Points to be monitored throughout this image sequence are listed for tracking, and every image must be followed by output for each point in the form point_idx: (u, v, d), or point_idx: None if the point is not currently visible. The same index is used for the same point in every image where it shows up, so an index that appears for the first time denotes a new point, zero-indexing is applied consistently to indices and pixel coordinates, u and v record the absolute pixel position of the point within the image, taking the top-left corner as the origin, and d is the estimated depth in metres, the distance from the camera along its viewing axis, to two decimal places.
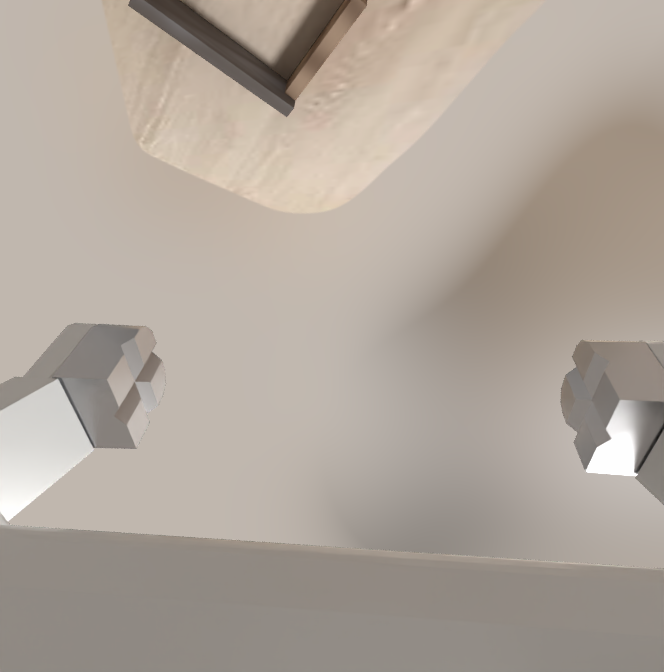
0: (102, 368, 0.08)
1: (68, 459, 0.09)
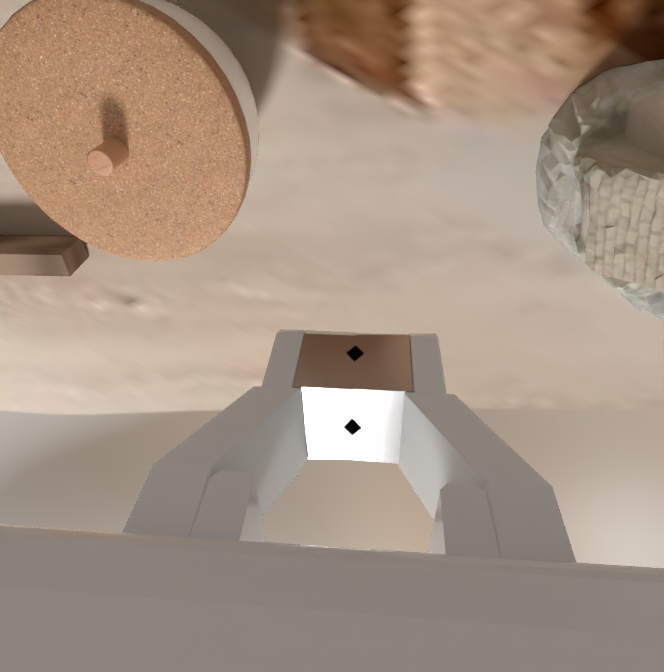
0: (341, 377, 0.08)
1: (291, 472, 0.08)
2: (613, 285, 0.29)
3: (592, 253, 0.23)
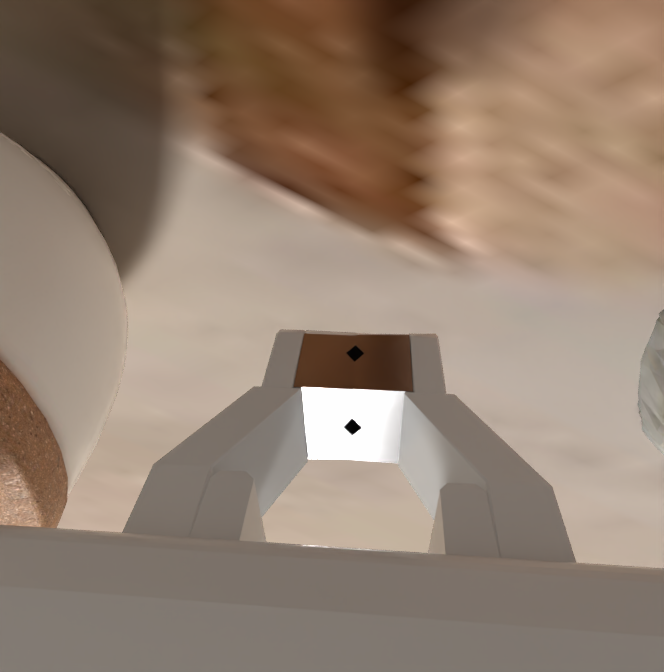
0: (341, 377, 0.08)
1: (291, 471, 0.08)
2: None
3: None
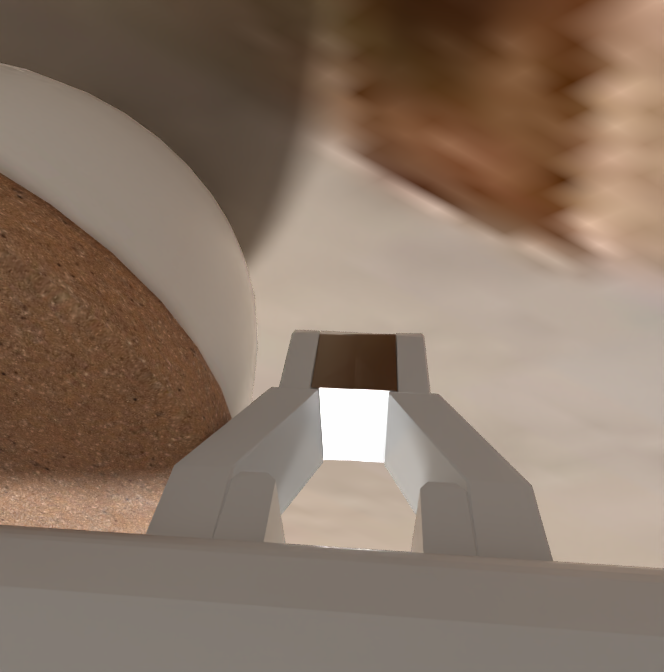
0: (358, 378, 0.08)
1: (307, 473, 0.08)
2: None
3: None
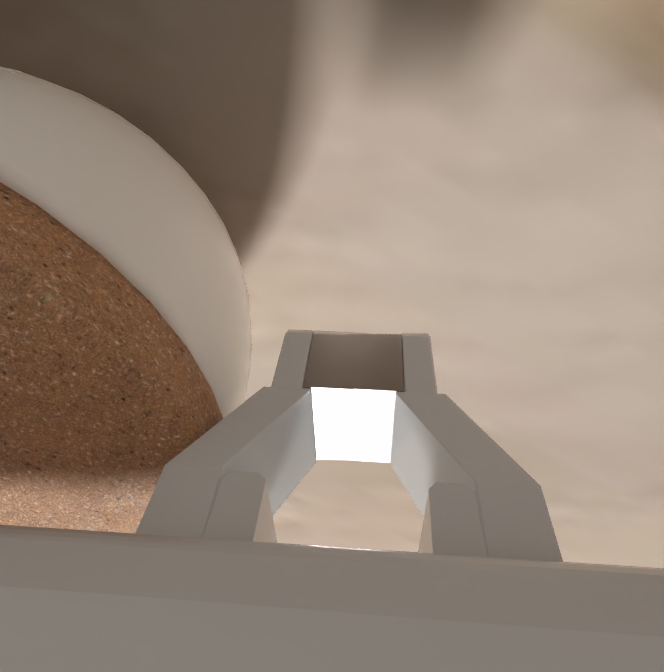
0: (350, 378, 0.08)
1: (300, 472, 0.08)
2: None
3: None
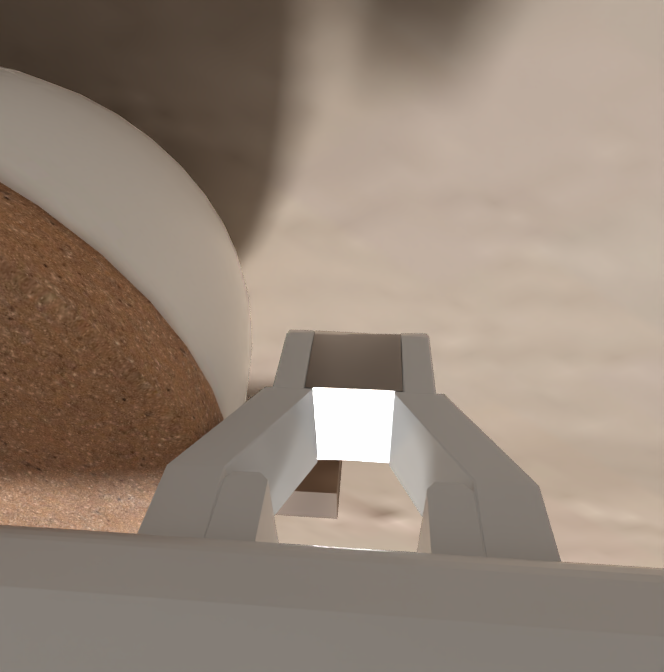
0: (352, 377, 0.08)
1: (301, 472, 0.08)
2: None
3: None
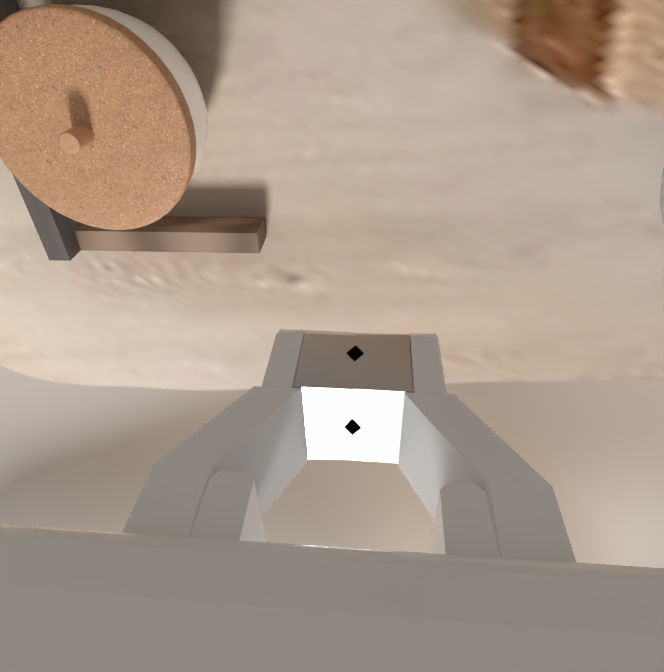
0: (341, 377, 0.08)
1: (290, 472, 0.08)
2: None
3: None
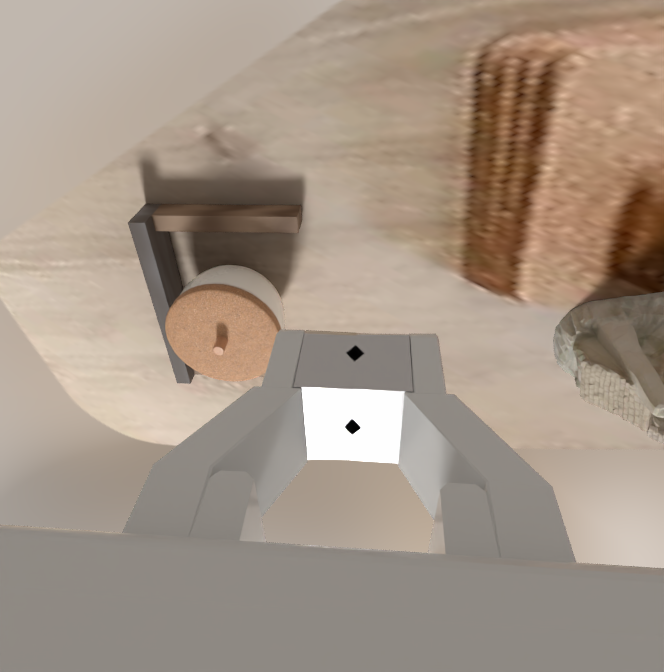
0: (341, 377, 0.08)
1: (290, 472, 0.08)
2: None
3: (583, 392, 0.47)
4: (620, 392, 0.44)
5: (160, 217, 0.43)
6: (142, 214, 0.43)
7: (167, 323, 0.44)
